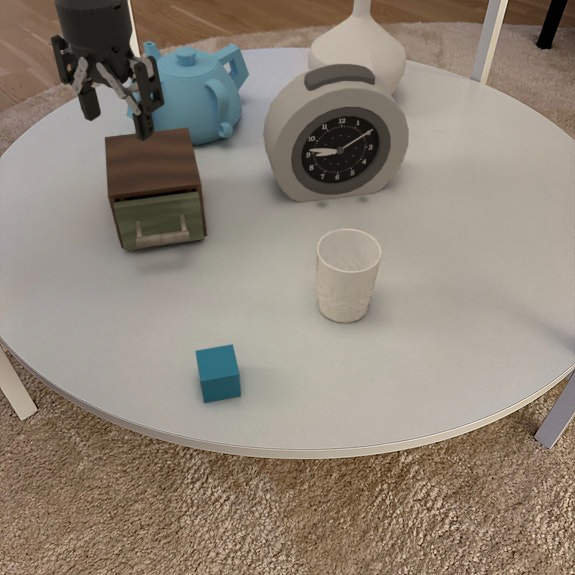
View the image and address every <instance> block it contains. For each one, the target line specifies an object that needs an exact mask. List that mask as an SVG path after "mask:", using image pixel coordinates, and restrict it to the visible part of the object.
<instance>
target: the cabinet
mask: <svg viewBox="0 0 575 575" xmlns="http://www.w3.org/2000/svg"><path fill="white" fill-rule="evenodd" d="M104 148H105V150H104V152H105V169H106V170H105V171H106V187H107V189H106V190H107V198H108V202H109V207H110V211H111V214H112V218H113V221H114V222H113V223H114V224H115V229H116V234H117V237H118V242H119V245H120V248H121V249H124V246H123V242H122V238H121V234H120V230H119V226H118V222H117V218H116V214H115V210H114V203H115V202H120V200H119V199H120V198H127V197H135V196H143V195H150V194H158V193H165V192H173V191H180V190H188V189H192V192H198V194H199V199H200V208H201V216H202V224H203V233H204V237H206V236H208V231H207V221H206V212H205V205H204V194H203V188H202V186H203V185H202V181H201V176H200V172H199V167H198V162H197V158H196V155H195V154H196V153H195V150H194V145H192V141H191V136H190V132H189V128H179V129H170V130H162V131H154V133H153V134H152V135H151V136H150V137H149V138H147V139H146V140H145V141H141V140H139V139H137V136H136V133H129V134H119V135H110V136H104Z"/></svg>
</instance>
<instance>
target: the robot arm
mask: <svg viewBox="0 0 575 575" xmlns="http://www.w3.org/2000/svg"><path fill="white" fill-rule="evenodd" d="M53 3H54V7H55V11H56V14H57V18H58V22H59V25H60V26H59V27H60V29H61V32H59V33H57V34H55V35H53V36H51V37H50V42H51V46H52V51H53V55H54V59H55V63H56V67H57V72H58V76H59V80H60V82H61V83H62V84H63V85H65V86H67V85H70V86H71V88H72V90H73V92H74V93H75V94H77V99H78V102H79V104H80V110H81V112H82V114H83V117H84V119H85V120H87V121H89V122H93V121H94V120H96V119H97V118H98V117H100V116H101V114H102V111H101V110H102V109H101V107H100V102H99V98H98V94H97V90H96V87H93V86H94V84H99V85H101V84H102V85H104V86H105V87H107V88H109V89H112V90H113V91H114V93H115V94H116V95H117V97H118V98H119V99H121V100H124V102H125V103H126V104H127V106H128V105H129V107H130V108H131V109H132V111H133V112H134V113H132V116H133V119H132V120H133V121H132V122H133V126H134V131H135V134H136V136H137V139H139V140H141V141H145V140H146V139H147V138H149V137H150V136H151V135H152V134H153V133H154V124H153V118H152V113H153V112H154V111H155V110H157V109H158V108H160V107H162V106H163V105H164V103H165V102H164V97H163V92H162V87H161V82H160V77H159V72H158V67H157V62H156V59H155V58H154V57H153V56H151V55H150V56H148V57H146V56H145V57H139V56H136V55H135V53H134V51H133V50H132V46H131V38H132V35H133V31H134V30H133V29H134V28H133V23H132V17H131V12H130V7H129V6H130V5H129V0H53ZM68 66H70V69H68ZM129 79H130V81H132V85H131V86H130V85H129V86H127V87H126V86H124V84H125V83H127V82H128V80H129ZM133 92H136V93H137V95H138V96H139V98H140V99H141V101H139V102H137V100H136V99H135V97H134V96H133ZM151 93H152V94H153V98H151Z"/></svg>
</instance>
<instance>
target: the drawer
mask: <svg viewBox="0 0 575 575" xmlns="http://www.w3.org/2000/svg"><path fill="white" fill-rule="evenodd" d="M119 200H120V202H115V203H114V210H115V214H116V218H117V222H118V226H119V230H120V234H121V238H122V242H123V246H124V248H123V249H124V251H131V250H140V249H146V248H152V247H160V246H166V245H173V244H179V243H186V242H187V243H188V242H195V241H199V240H204V239H205V236H204V233H203V224H202V216H201V208H200V199H199V194H198V192H192V189H188V190H180V191H173V192H165V193H158V194H150V195H143V196H135V197H127V198H120V199H119Z"/></svg>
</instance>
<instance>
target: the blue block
mask: <svg viewBox="0 0 575 575" xmlns="http://www.w3.org/2000/svg"><path fill="white" fill-rule="evenodd" d="M194 352H195V358H196V364H197V371H198V376H199V382H200V389H201V394H202V395H201V396H202V401H203V404H205V403H206V404H207V403H211V402H217V401H222V400H227V399H232V398H236V397H241V396H242V389H241V376H240V370H239V365H238V362H237V356H236V352H235V347H234V344H232V343H231V344H225V345H220V346H215V347H209V348H203V349H198V350H195V351H194Z"/></svg>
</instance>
